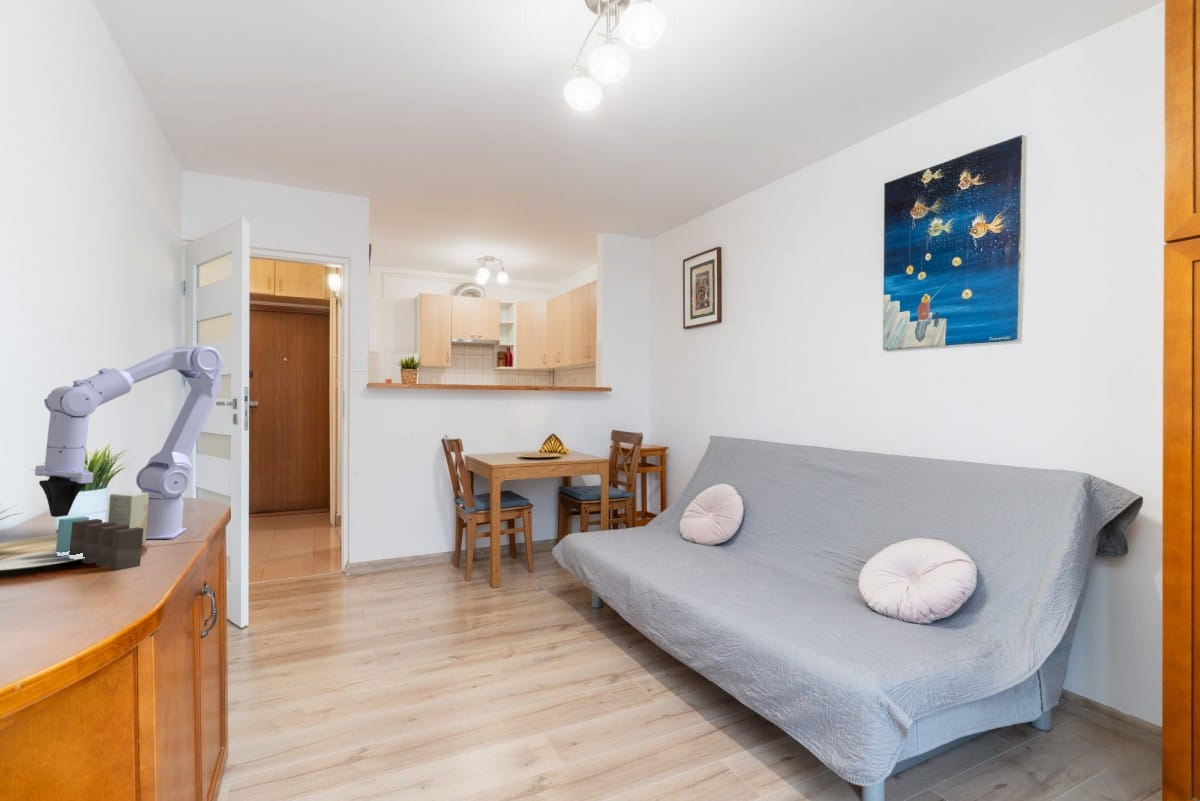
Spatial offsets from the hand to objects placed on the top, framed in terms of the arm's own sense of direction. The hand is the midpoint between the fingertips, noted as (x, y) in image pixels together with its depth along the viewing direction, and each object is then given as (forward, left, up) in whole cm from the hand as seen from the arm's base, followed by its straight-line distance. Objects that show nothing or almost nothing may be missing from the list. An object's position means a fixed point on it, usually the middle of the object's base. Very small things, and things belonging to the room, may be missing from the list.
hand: (59, 515), depth 113 cm
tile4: (+11, +13, -7) cm, 18 cm away
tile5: (+13, +16, -7) cm, 22 cm away
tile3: (+8, +10, -7) cm, 14 cm away
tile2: (+5, +7, -7) cm, 11 cm away
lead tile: (+3, +4, -7) cm, 8 cm away
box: (-3, +10, -7) cm, 13 cm away
